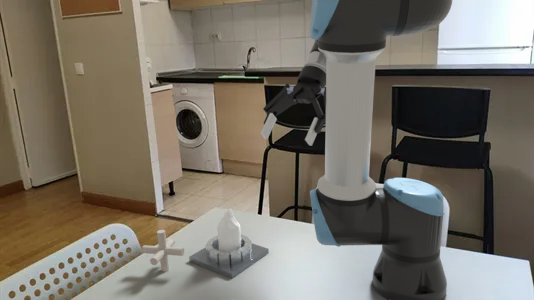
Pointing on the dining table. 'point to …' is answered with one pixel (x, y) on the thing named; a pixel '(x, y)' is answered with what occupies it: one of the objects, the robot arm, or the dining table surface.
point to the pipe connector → (162, 250)
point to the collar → (228, 257)
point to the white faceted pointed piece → (229, 233)
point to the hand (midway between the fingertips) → (285, 139)
